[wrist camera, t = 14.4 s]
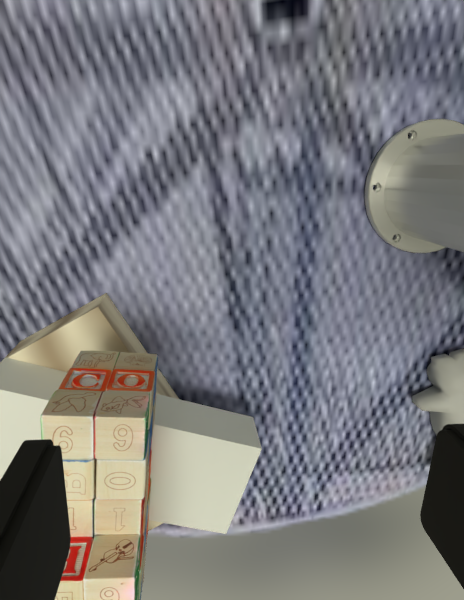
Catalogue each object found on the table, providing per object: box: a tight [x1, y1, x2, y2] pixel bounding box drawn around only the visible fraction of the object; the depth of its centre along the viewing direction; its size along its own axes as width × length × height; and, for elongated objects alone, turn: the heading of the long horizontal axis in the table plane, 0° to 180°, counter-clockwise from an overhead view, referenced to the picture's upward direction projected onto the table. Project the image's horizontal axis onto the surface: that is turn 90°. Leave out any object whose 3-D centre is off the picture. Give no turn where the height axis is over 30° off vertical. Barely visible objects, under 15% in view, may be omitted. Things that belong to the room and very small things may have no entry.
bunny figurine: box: [412, 348, 464, 436], centre depth 48 cm, size 10×5×15 cm
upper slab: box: [0, 357, 262, 534], centre depth 39 cm, size 10×24×5 cm, turn 71°
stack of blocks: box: [40, 351, 158, 600], centre depth 31 cm, size 21×6×12 cm, turn 174°
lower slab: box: [6, 293, 179, 531], centre depth 44 cm, size 10×24×5 cm, turn 29°
